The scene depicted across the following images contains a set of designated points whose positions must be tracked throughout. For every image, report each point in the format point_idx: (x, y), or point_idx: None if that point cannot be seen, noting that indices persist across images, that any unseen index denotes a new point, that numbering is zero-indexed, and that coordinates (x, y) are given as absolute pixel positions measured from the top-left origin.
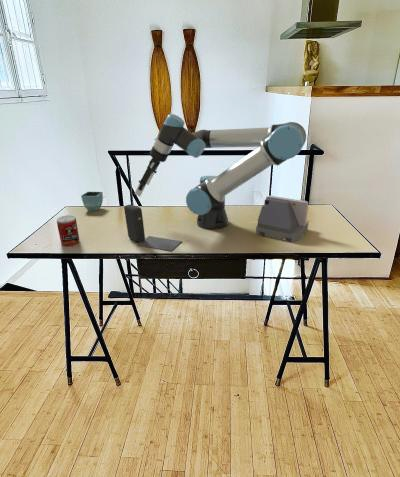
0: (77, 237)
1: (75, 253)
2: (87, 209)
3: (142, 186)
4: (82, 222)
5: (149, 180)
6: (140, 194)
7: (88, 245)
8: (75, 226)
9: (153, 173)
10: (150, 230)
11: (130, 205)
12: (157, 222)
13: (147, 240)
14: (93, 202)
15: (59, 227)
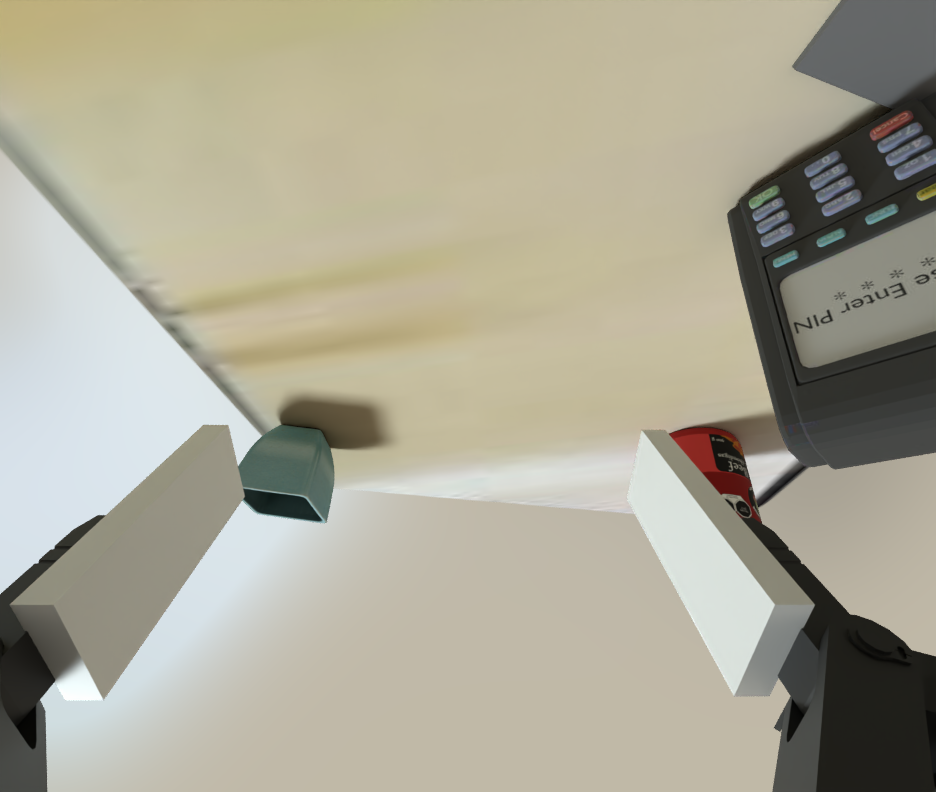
0: (721, 450)
1: None
2: (331, 455)
3: (826, 602)
4: (465, 444)
5: (188, 487)
6: (679, 455)
7: (767, 396)
8: (735, 503)
9: (39, 616)
10: (611, 89)
11: (877, 447)
12: (390, 57)
13: (929, 57)
14: (320, 473)
15: None
